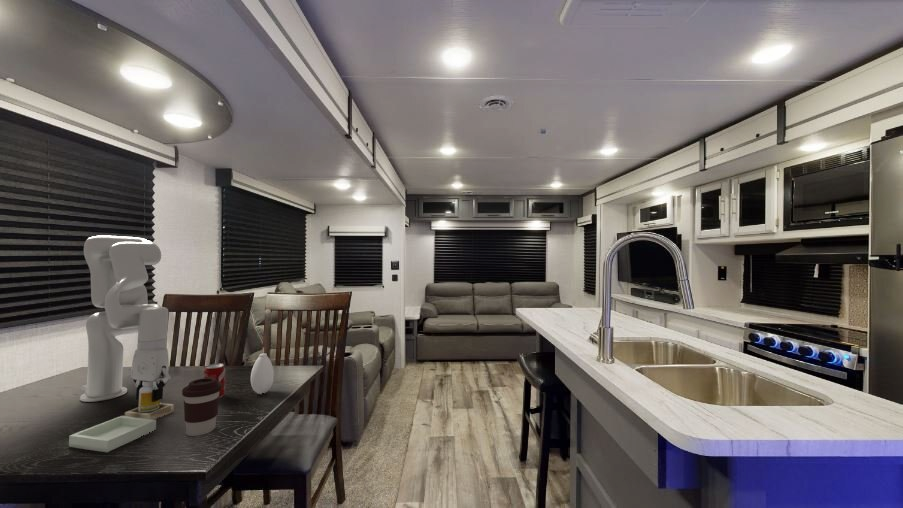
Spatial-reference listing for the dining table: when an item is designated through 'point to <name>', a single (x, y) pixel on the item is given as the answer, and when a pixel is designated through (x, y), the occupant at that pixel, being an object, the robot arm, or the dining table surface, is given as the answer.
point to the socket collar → (157, 413)
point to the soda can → (216, 375)
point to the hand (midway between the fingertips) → (149, 398)
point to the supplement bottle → (147, 398)
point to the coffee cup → (201, 405)
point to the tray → (112, 433)
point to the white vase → (262, 374)
